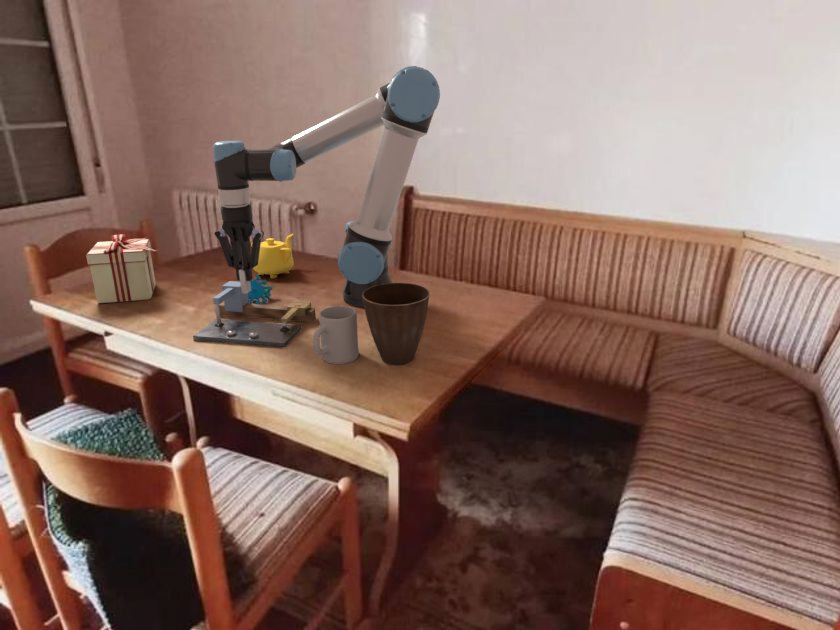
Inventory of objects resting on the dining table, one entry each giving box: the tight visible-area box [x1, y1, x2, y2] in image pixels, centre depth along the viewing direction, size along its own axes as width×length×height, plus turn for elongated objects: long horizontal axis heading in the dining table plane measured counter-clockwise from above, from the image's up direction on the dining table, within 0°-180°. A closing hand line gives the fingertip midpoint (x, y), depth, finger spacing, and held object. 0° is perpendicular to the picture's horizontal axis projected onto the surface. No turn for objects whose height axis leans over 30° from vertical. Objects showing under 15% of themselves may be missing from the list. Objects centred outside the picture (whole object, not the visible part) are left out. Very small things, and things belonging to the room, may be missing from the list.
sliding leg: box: [212, 280, 250, 324], centre depth 154 cm, size 5×13×7 cm, turn 169°
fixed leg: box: [280, 300, 312, 329], centre depth 152 cm, size 5×13×3 cm, turn 169°
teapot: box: [250, 233, 295, 279], centre depth 192 cm, size 14×14×12 cm
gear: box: [248, 274, 275, 305], centre depth 169 cm, size 11×6×10 cm
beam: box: [214, 301, 317, 323], centre depth 158 cm, size 28×2×3 cm, turn 79°
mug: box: [312, 305, 360, 365], centre depth 133 cm, size 12×8×11 cm
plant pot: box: [362, 282, 430, 366], centre depth 132 cm, size 15×15×16 cm
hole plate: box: [192, 318, 303, 349], centre depth 147 cm, size 24×11×2 cm, turn 79°
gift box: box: [85, 233, 159, 304], centre depth 174 cm, size 17×18×17 cm
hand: (246, 291), depth 157 cm, fingers closed
